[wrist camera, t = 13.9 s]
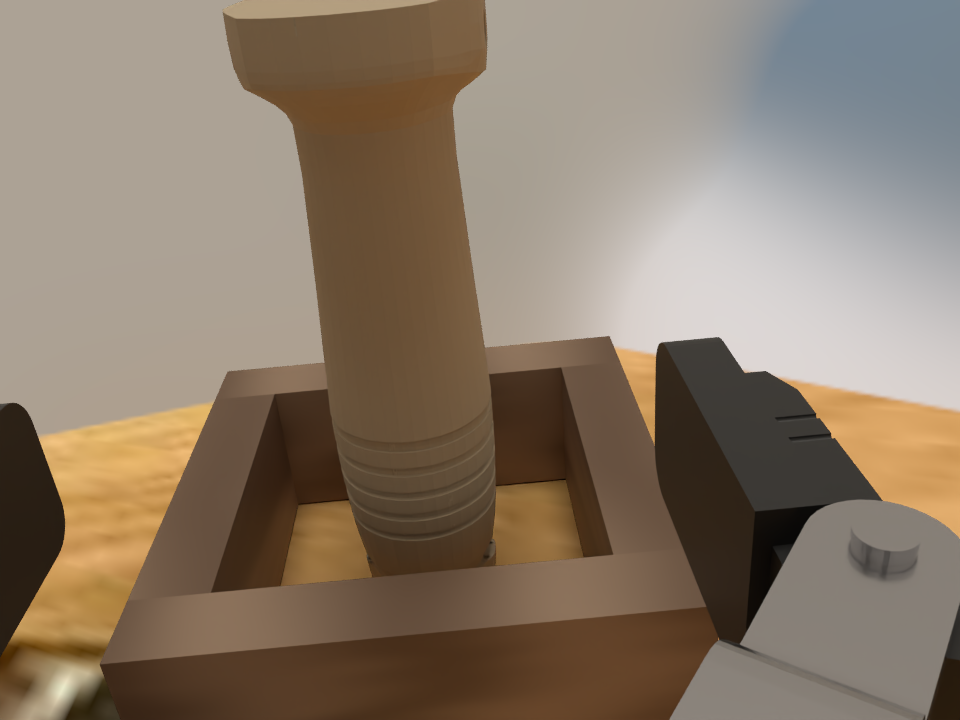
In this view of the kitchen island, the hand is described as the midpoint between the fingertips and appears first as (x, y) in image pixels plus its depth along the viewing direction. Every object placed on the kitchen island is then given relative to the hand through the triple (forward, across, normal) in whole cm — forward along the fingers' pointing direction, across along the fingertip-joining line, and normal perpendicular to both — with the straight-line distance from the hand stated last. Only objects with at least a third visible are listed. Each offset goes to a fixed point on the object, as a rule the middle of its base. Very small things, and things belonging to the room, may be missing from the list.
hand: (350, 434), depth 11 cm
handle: (+9, 0, +11) cm, 14 cm away
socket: (+9, 0, +10) cm, 14 cm away
